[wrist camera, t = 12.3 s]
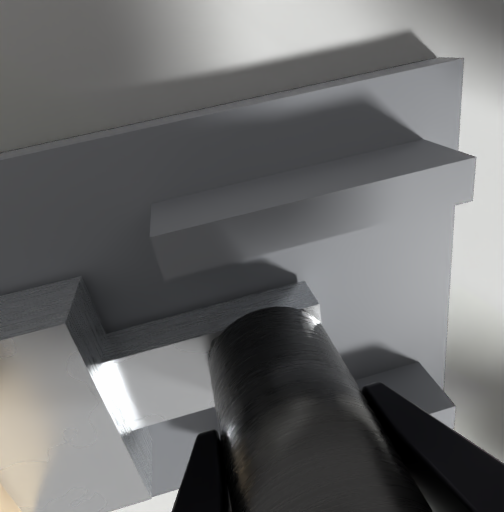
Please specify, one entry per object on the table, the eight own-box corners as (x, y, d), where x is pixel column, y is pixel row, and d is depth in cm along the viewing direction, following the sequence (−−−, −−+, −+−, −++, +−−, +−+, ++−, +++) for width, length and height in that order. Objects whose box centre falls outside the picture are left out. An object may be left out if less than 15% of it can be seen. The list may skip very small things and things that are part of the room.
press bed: (438, 57, 11) (575, 61, 7) (427, 389, 16) (500, 481, 13) (-538, 270, 9) (-1015, 423, 5) (-164, 566, 14) (-269, 735, 11)
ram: (300, 221, 11) (515, 480, 4) (322, 388, 13) (471, 695, 7) (-46, 307, 10) (-429, 793, 3) (54, 466, 13) (-51, 894, 6)
